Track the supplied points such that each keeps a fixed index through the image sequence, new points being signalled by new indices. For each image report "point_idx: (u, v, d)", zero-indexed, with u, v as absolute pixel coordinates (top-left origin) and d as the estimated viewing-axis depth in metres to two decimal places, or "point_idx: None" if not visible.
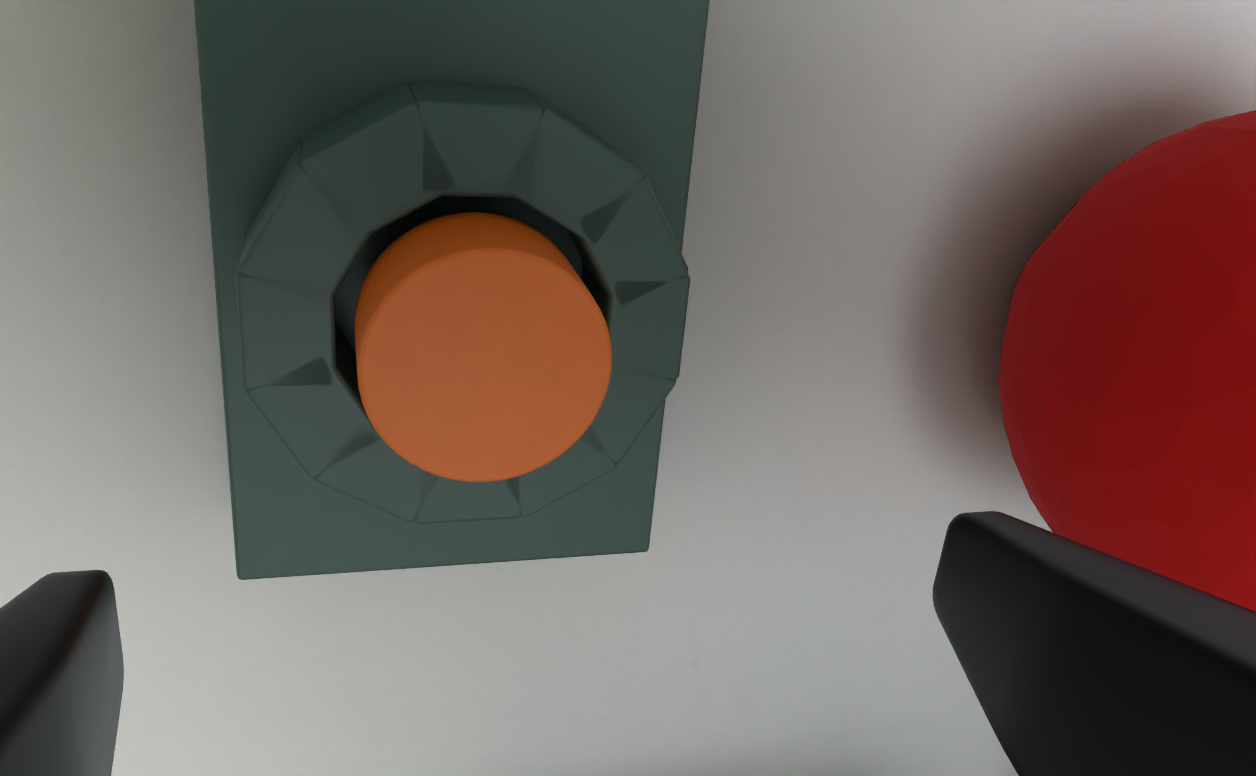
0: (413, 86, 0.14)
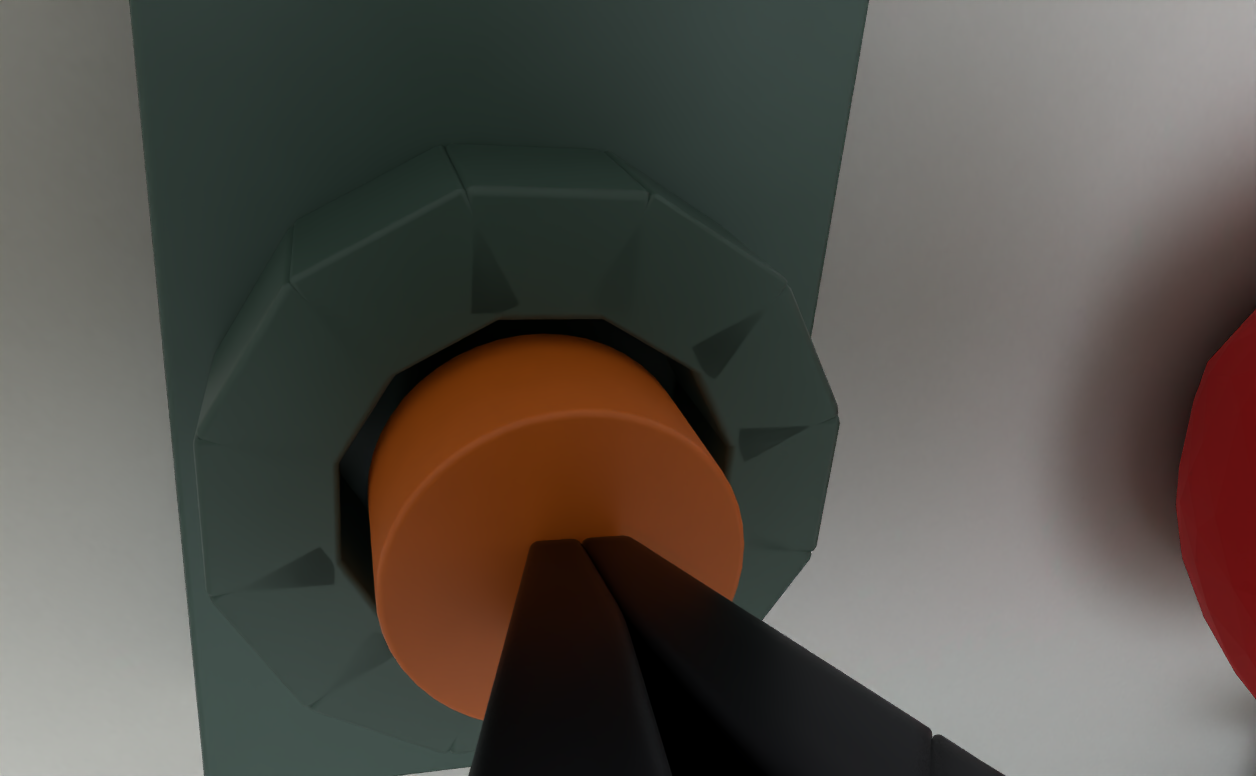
0: (453, 153, 0.10)
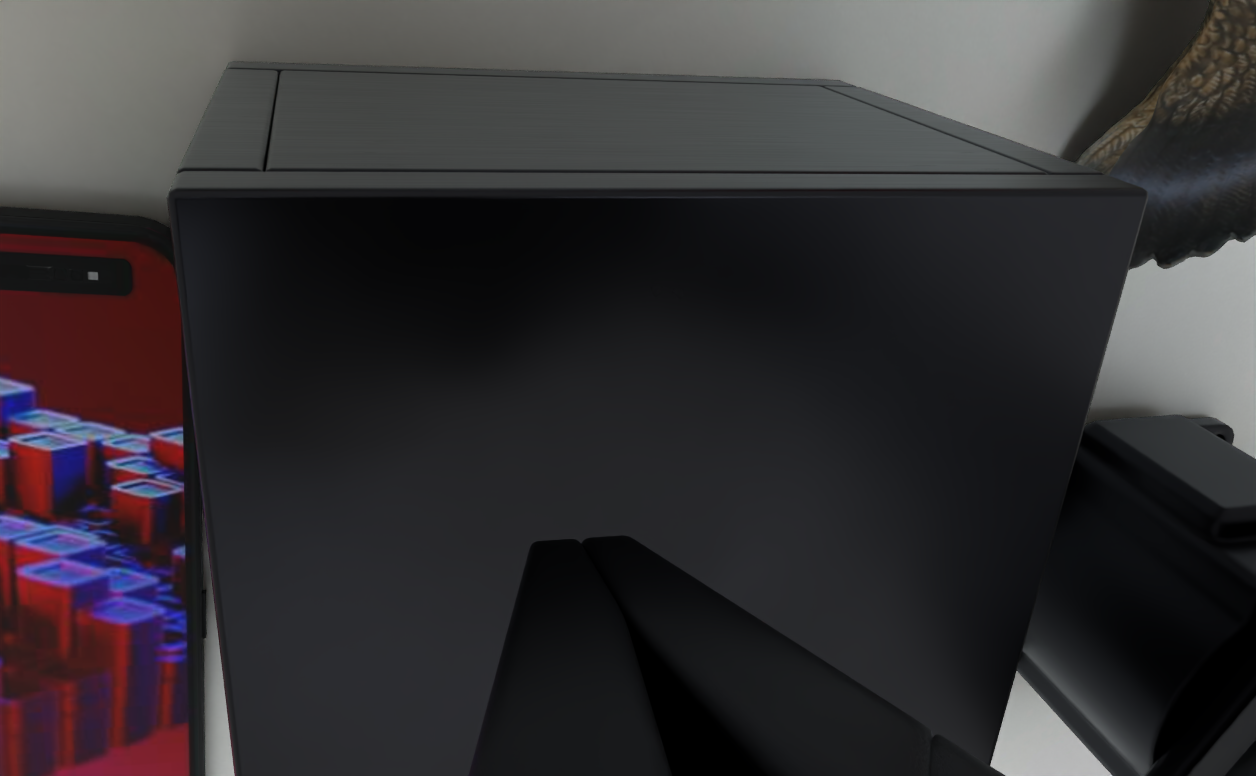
0: None
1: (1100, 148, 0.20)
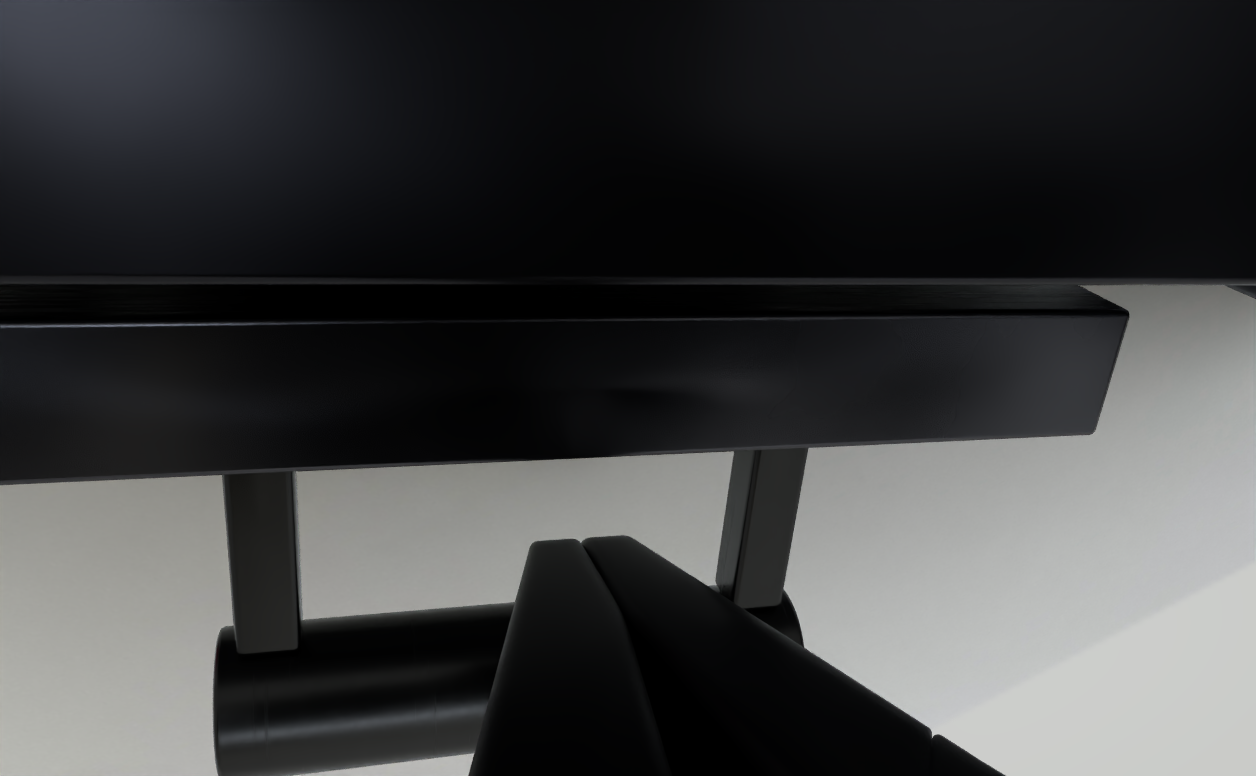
0: None
1: None
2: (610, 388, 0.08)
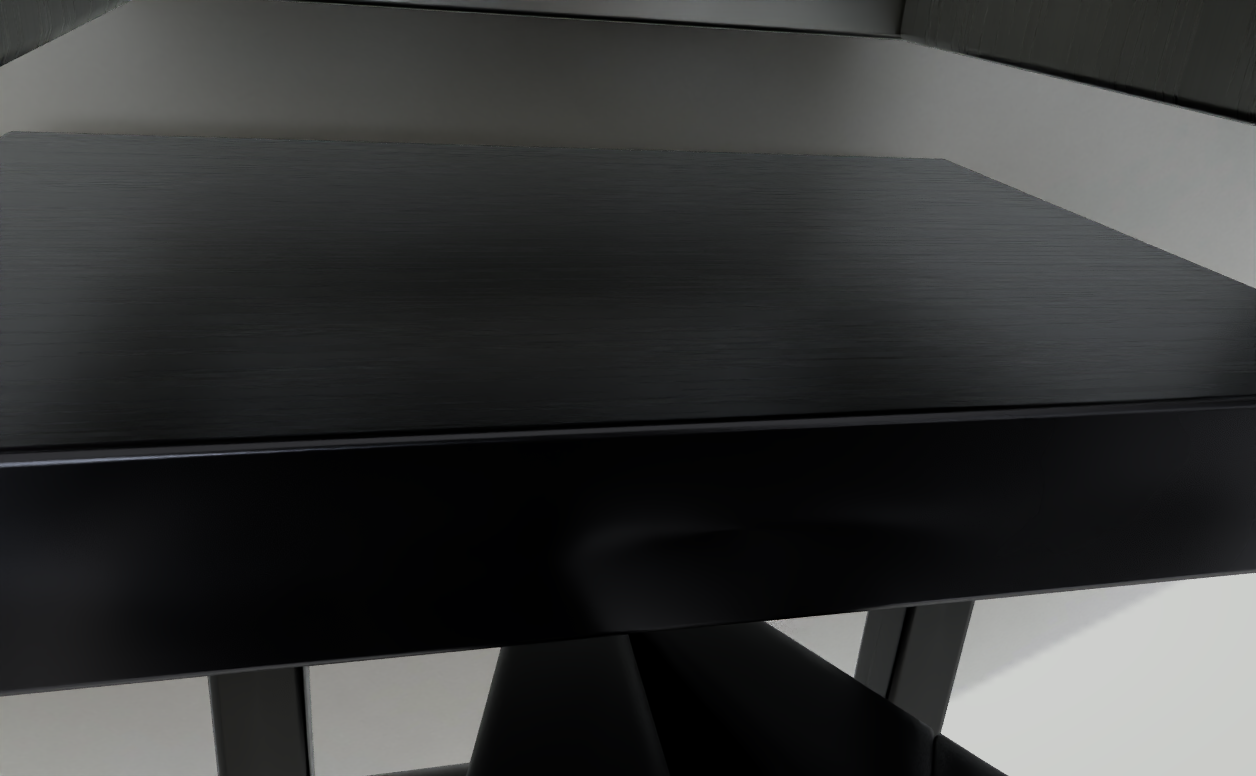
0: None
1: None
2: (776, 526, 0.05)
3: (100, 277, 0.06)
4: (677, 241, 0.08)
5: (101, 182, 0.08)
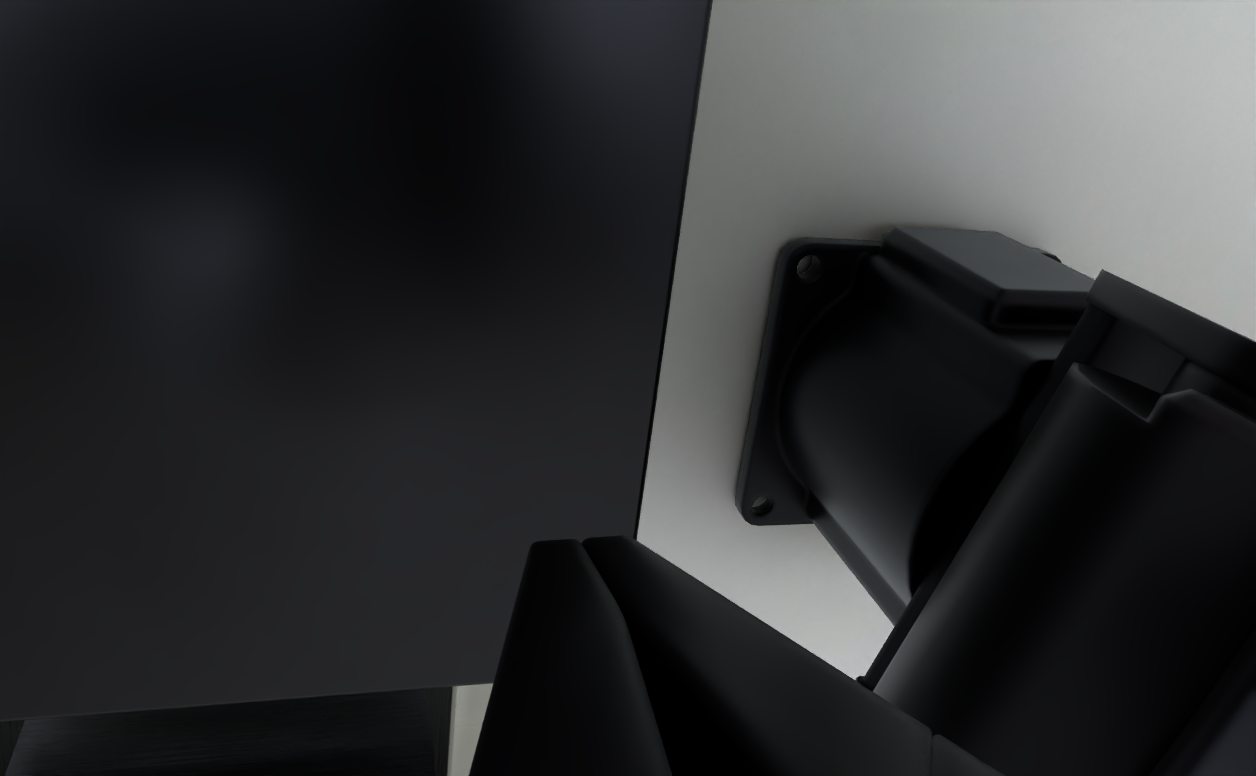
0: None
1: None
2: None
3: None
4: None
5: (21, 746, 0.18)
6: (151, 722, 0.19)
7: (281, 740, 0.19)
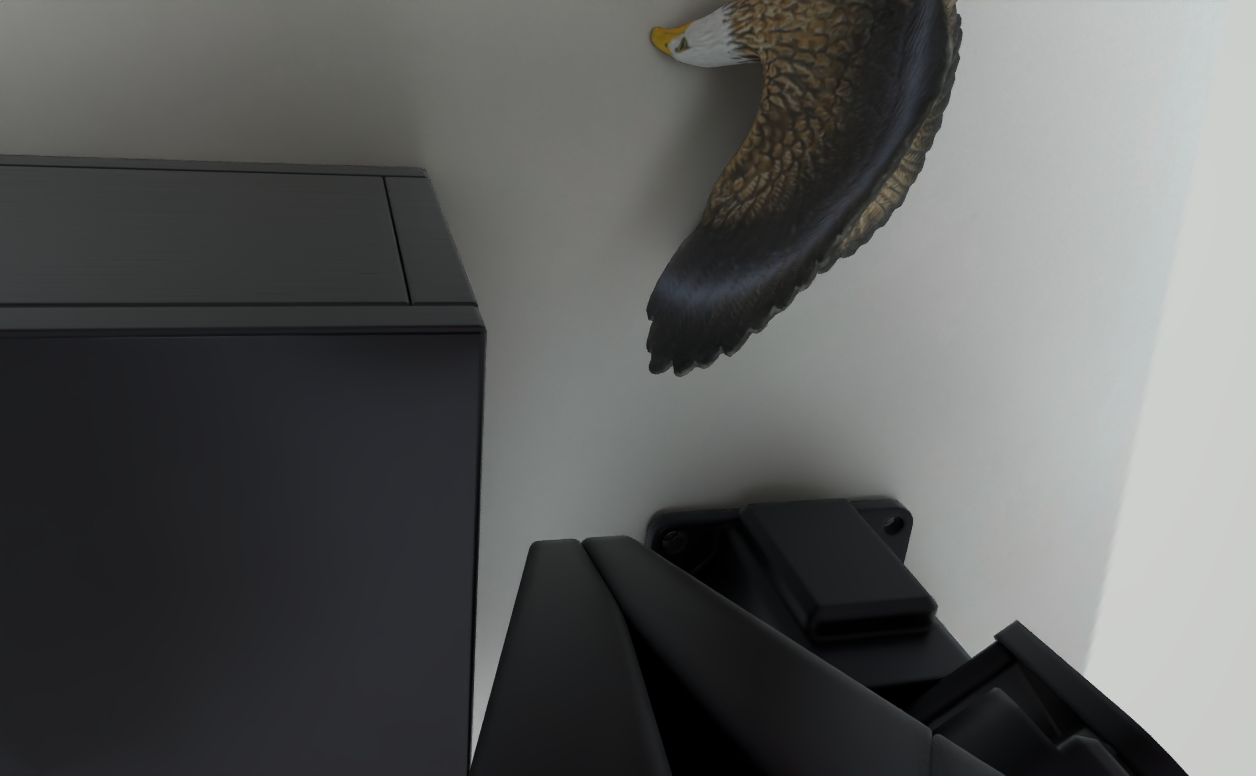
0: None
1: None
2: None
3: None
4: None
5: None
6: None
7: None
